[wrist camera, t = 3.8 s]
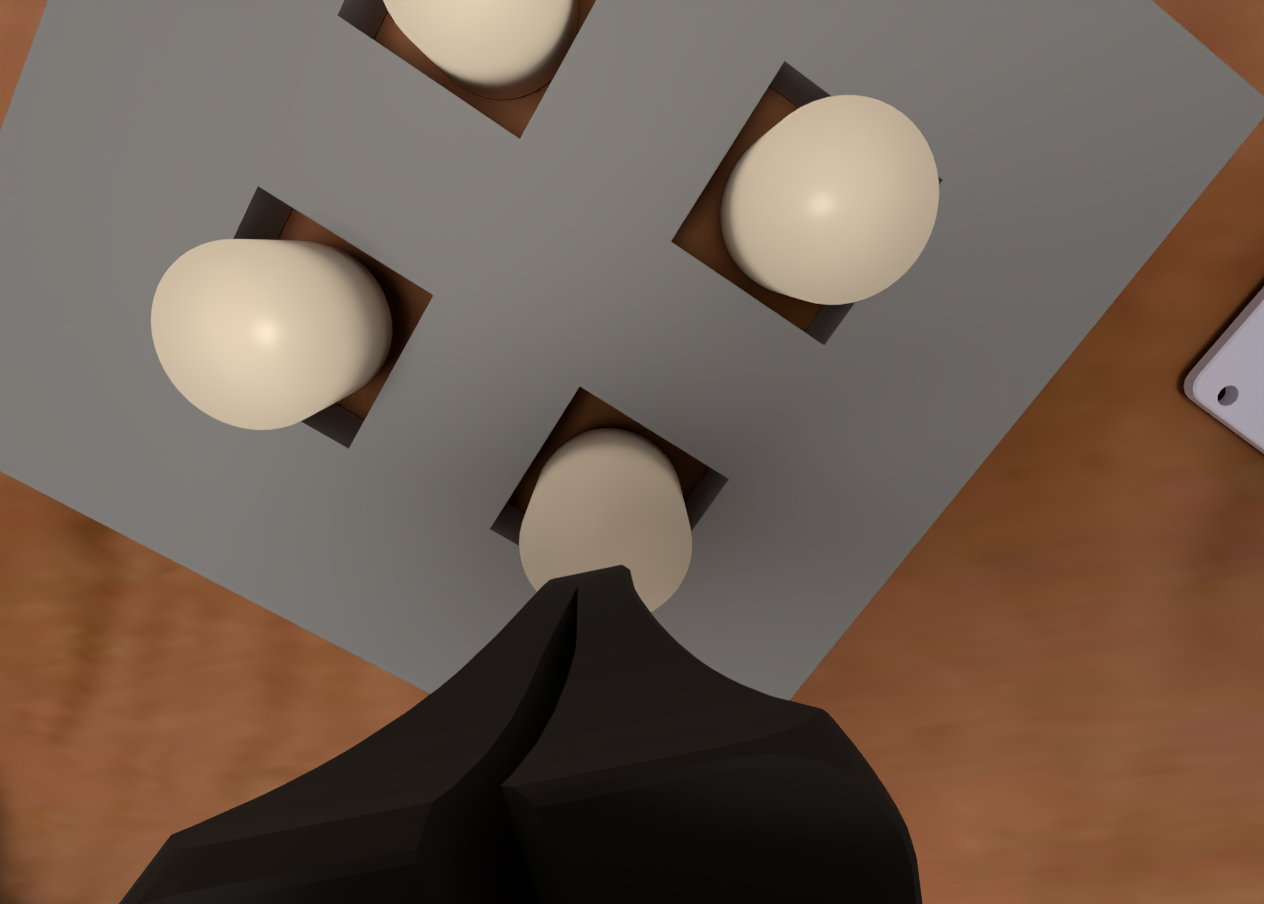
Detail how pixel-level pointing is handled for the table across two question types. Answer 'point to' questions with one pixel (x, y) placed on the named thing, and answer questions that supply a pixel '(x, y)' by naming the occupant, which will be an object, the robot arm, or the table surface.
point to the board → (573, 291)
